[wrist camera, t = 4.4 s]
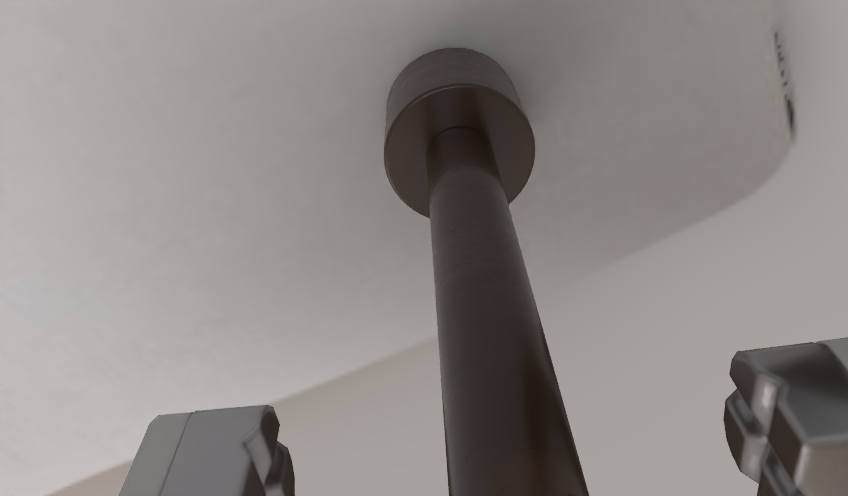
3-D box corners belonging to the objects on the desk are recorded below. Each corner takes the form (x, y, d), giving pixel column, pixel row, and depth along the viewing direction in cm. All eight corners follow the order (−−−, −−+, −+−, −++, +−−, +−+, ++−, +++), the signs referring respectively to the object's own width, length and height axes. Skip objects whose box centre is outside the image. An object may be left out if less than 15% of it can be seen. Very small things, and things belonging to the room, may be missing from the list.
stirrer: (513, 38, 18) (808, 596, 5) (520, 164, 19) (745, 803, 7) (376, 56, 18) (307, 644, 5) (396, 179, 20) (384, 834, 7)
